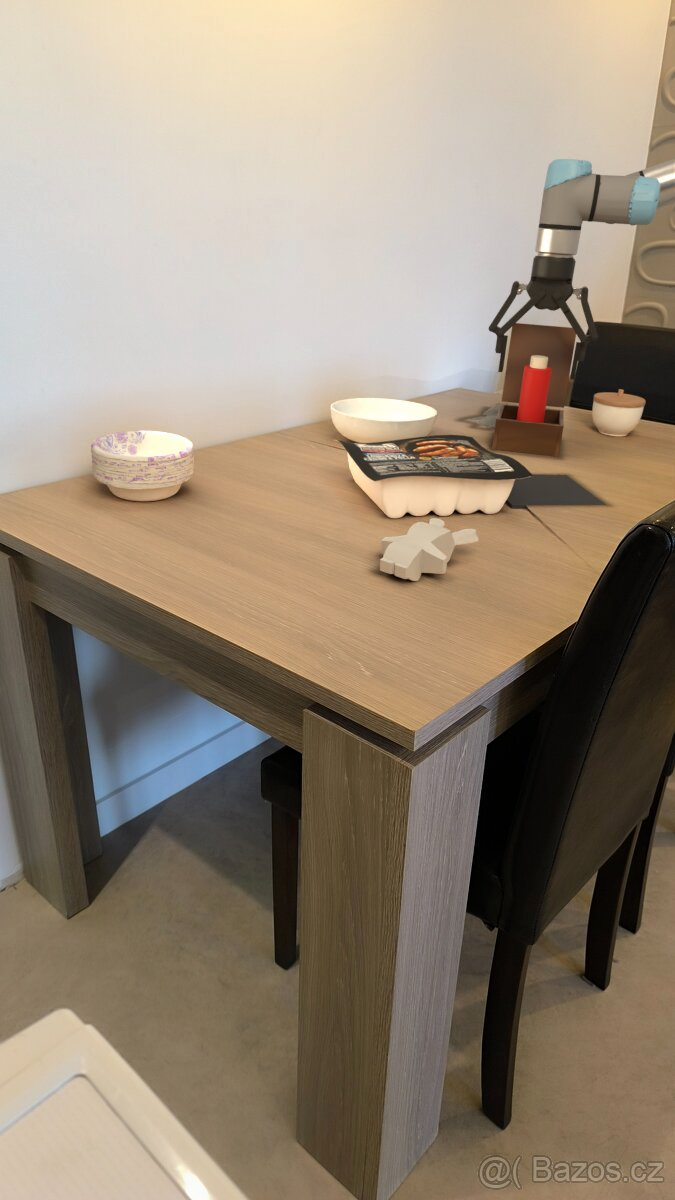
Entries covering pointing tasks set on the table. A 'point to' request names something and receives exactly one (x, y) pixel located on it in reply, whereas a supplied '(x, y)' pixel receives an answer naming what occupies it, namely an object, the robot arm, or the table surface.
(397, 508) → the food packaging
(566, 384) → the chest lid
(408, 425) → the serving bowl
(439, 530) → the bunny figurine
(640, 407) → the trinket box
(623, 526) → the table surface
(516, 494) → the mat
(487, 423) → the cloth
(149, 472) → the paper bowls
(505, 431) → the chest
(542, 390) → the ketchup
